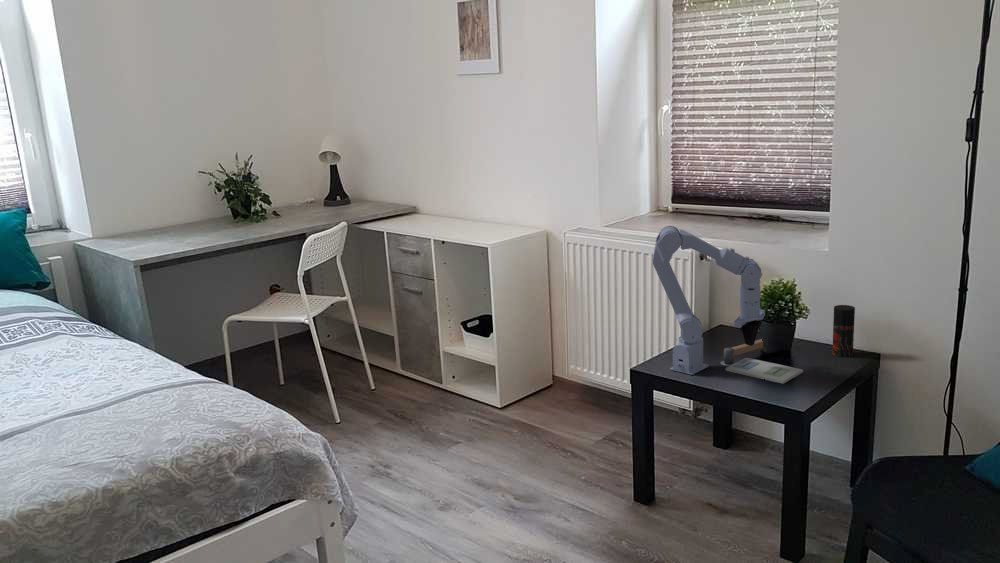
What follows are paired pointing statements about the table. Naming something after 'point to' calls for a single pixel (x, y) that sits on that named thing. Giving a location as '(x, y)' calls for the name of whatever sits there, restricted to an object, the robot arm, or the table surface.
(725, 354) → the swing bar
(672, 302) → the robot arm
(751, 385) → the table surface
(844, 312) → the deodorant
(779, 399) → the table surface
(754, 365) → the label panel
